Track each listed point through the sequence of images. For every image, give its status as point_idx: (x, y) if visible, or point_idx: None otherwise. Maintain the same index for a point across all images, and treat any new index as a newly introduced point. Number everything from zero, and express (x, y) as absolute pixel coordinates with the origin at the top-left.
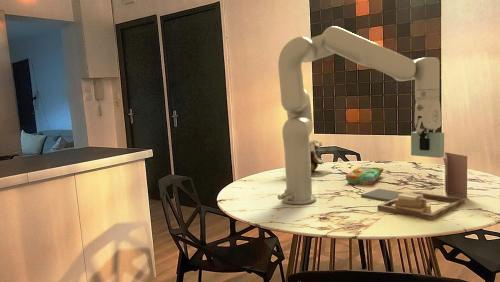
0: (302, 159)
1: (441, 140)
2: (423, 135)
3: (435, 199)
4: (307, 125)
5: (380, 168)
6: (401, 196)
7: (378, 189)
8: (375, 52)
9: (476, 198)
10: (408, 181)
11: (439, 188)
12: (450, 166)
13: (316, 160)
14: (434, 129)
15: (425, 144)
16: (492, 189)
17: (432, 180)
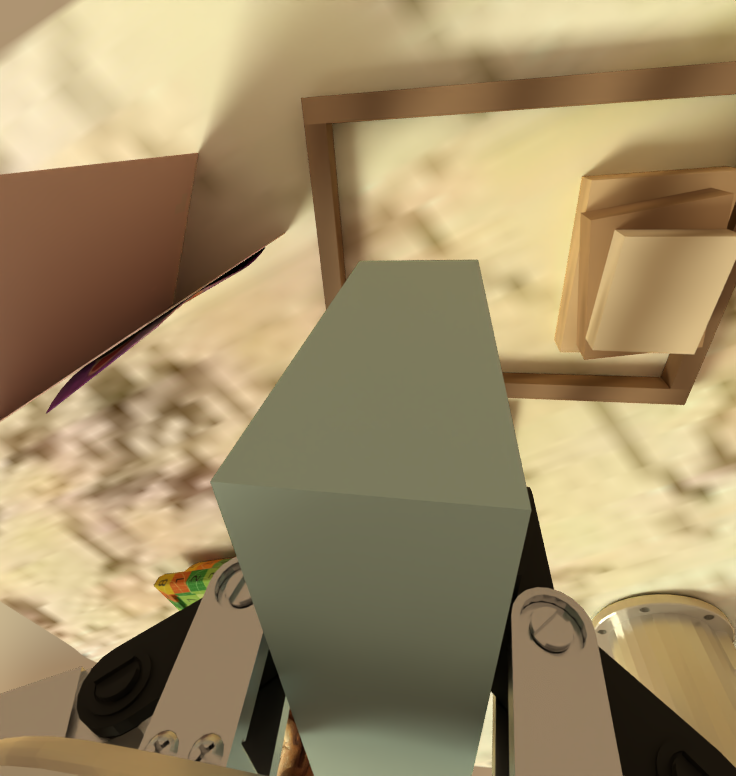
0: None
1: (417, 370)
2: (663, 708)
3: (344, 268)
4: None
5: (168, 590)
6: (702, 329)
7: None
8: None
9: (166, 101)
10: (163, 476)
11: (154, 345)
12: (74, 329)
13: (294, 735)
14: (183, 727)
15: (534, 519)
16: None
17: (74, 419)
